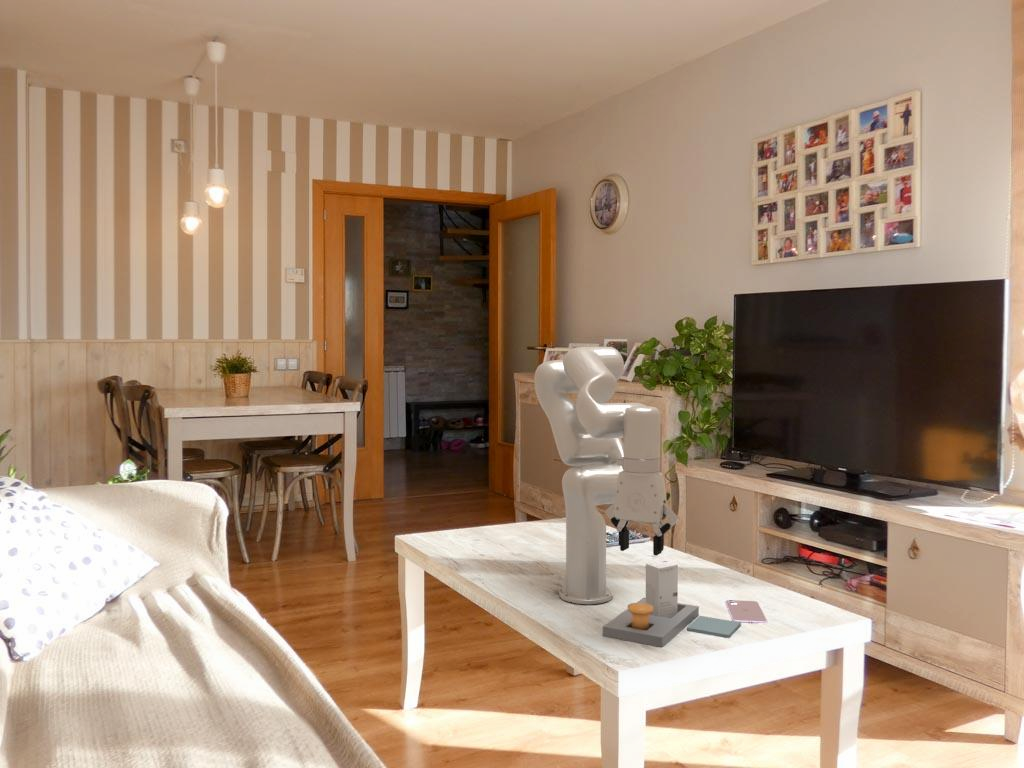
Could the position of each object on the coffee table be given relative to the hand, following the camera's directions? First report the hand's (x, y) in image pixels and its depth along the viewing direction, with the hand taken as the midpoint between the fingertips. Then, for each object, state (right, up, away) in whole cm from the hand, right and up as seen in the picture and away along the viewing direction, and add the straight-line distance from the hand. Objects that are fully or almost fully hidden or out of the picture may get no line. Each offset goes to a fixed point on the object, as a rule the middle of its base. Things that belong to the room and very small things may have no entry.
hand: (640, 551), depth 177 cm
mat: (+16, -17, +5) cm, 25 cm away
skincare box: (+6, -17, +12) cm, 22 cm away
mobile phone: (+26, -17, +16) cm, 35 cm away
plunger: (0, -16, +1) cm, 16 cm away
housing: (+3, -17, +6) cm, 19 cm away
